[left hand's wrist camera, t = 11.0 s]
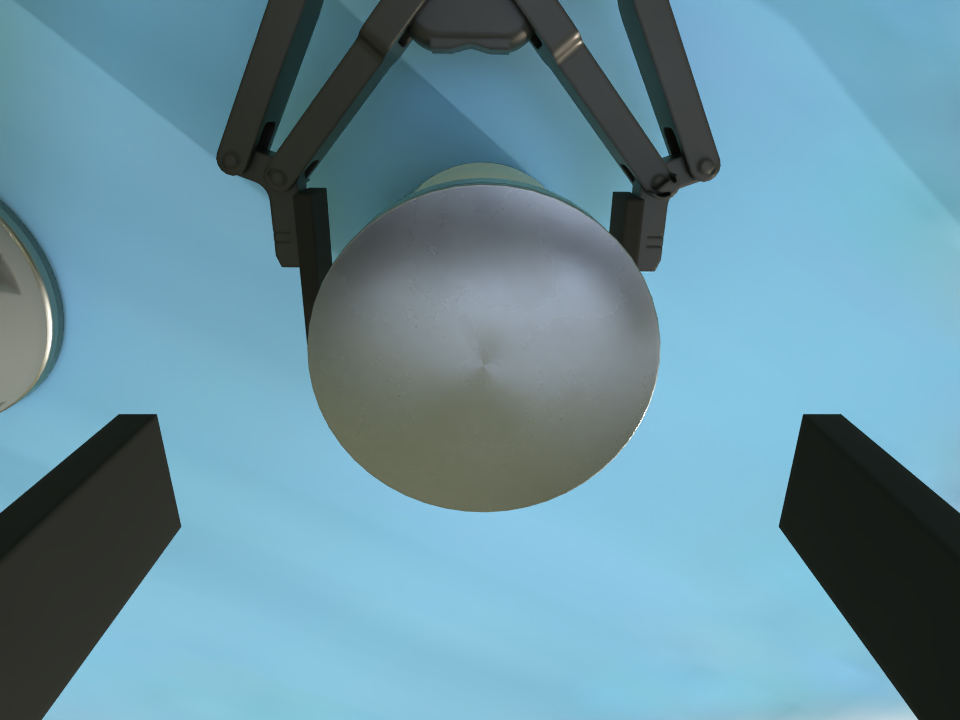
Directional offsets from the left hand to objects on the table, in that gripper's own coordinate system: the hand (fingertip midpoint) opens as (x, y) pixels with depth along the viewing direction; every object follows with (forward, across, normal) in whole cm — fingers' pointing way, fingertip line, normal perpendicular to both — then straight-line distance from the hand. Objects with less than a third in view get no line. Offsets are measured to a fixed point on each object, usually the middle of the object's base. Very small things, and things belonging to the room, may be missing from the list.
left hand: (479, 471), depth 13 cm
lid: (+7, 0, 0) cm, 7 cm away
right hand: (+16, 0, -3) cm, 16 cm away
